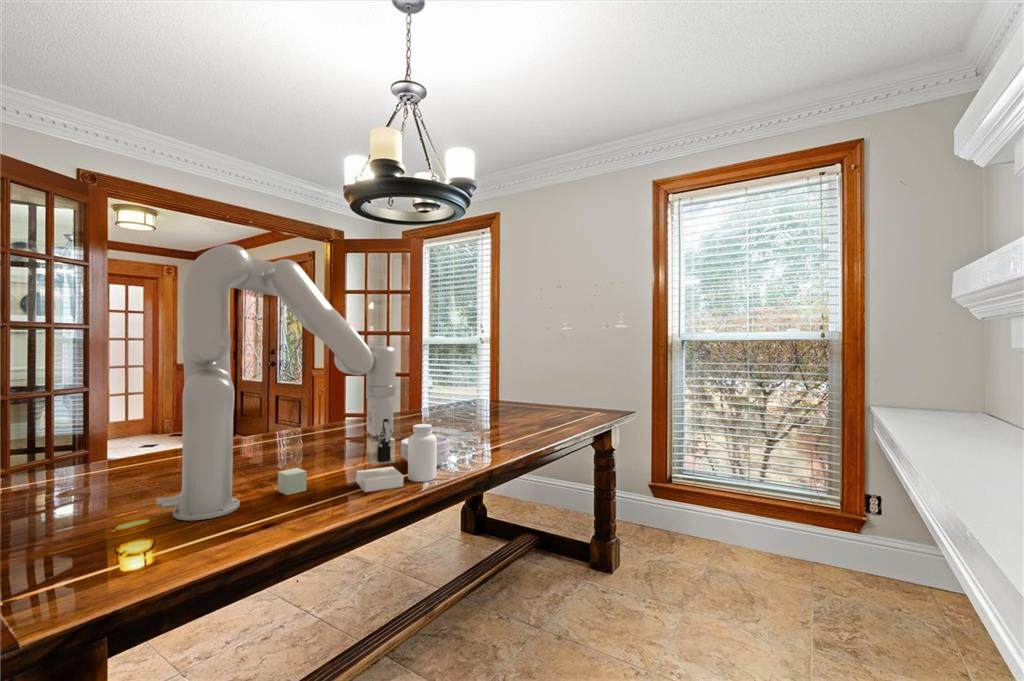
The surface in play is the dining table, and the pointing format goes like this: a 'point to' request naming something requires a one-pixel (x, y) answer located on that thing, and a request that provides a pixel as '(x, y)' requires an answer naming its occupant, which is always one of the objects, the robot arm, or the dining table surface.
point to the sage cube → (292, 481)
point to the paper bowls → (442, 448)
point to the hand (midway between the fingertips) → (380, 458)
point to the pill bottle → (422, 454)
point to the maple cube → (373, 451)
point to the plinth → (379, 479)
